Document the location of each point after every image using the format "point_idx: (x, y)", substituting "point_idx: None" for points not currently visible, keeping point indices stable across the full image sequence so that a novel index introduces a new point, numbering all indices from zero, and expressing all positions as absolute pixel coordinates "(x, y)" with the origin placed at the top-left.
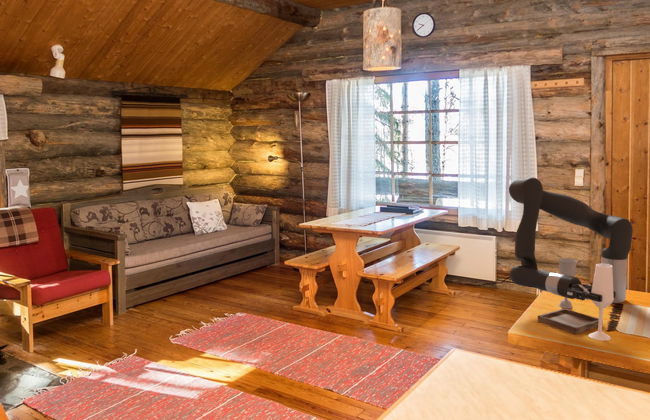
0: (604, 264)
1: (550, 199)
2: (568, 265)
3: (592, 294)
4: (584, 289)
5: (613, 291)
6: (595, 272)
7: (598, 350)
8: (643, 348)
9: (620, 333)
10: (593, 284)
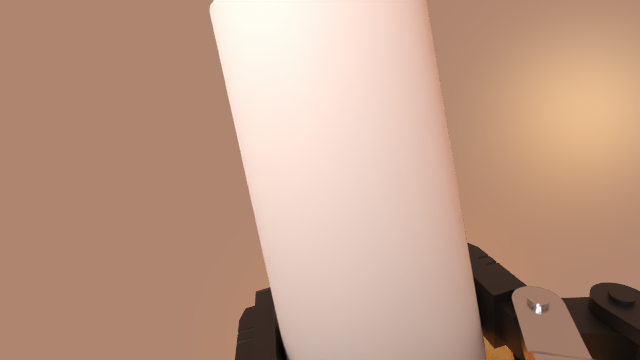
0: (227, 8)
1: None
2: None
3: (497, 281)
4: (584, 357)
5: (264, 294)
6: (437, 76)
7: (509, 349)
8: None
9: None
10: (464, 234)
